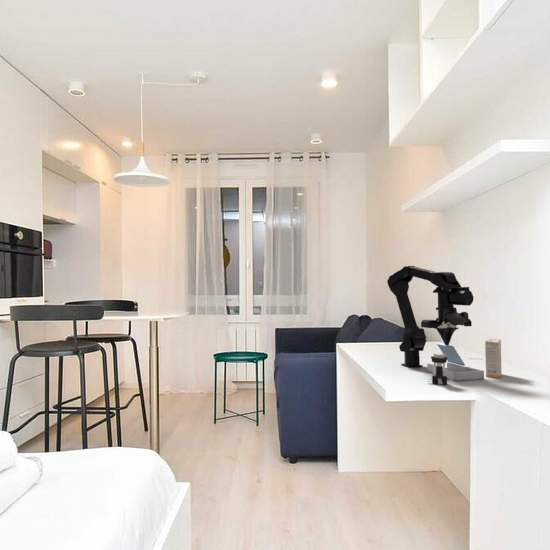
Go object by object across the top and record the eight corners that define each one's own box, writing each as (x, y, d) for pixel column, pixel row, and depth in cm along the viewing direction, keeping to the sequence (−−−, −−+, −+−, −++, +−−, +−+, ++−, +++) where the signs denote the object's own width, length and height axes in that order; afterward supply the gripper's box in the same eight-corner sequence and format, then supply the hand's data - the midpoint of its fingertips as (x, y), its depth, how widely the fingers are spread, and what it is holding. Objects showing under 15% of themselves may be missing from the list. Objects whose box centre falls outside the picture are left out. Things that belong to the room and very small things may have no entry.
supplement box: (487, 372, 174) (487, 338, 174) (501, 374, 171) (501, 339, 172) (485, 376, 167) (484, 340, 167) (499, 378, 164) (499, 341, 164)
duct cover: (436, 343, 178) (437, 343, 179) (448, 361, 180) (449, 360, 180) (452, 347, 169) (453, 346, 169) (464, 365, 170) (465, 364, 171)
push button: (427, 384, 154) (427, 355, 154) (426, 381, 159) (426, 352, 159) (448, 385, 152) (448, 355, 153) (446, 382, 158) (446, 353, 158)
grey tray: (425, 371, 177) (425, 363, 177) (450, 369, 180) (450, 362, 180) (455, 381, 159) (455, 372, 159) (484, 379, 162) (483, 370, 162)
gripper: (437, 306, 164) (438, 349, 164) (481, 304, 169) (482, 347, 169) (419, 305, 175) (420, 346, 175) (461, 303, 180) (462, 343, 180)
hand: (446, 345), depth 174 cm, fingers closed
